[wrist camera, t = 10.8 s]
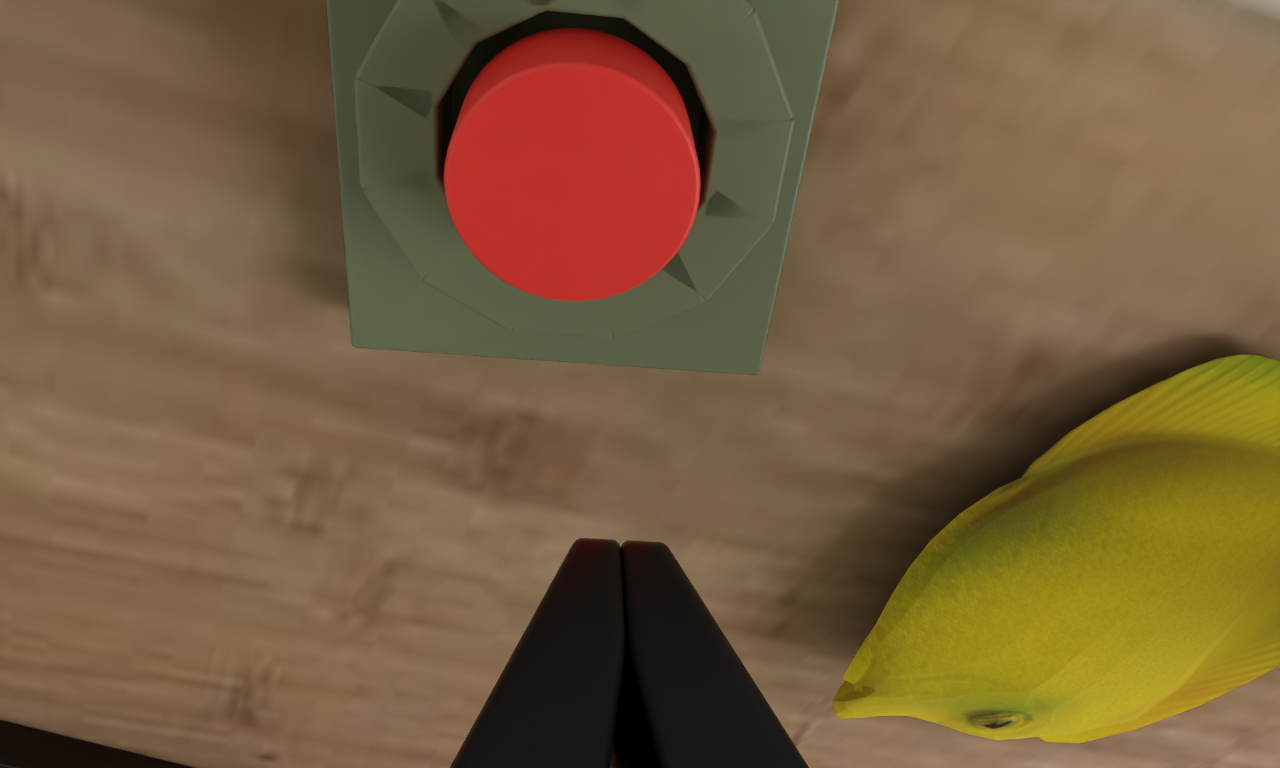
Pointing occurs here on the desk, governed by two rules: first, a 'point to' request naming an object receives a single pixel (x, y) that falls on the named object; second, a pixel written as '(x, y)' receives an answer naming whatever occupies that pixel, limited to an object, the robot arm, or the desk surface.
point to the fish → (1098, 575)
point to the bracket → (63, 752)
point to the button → (572, 166)
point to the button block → (552, 329)
